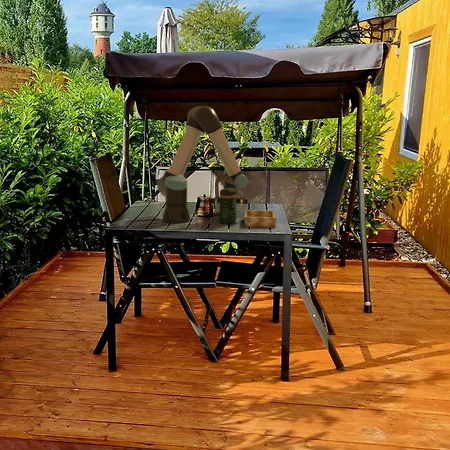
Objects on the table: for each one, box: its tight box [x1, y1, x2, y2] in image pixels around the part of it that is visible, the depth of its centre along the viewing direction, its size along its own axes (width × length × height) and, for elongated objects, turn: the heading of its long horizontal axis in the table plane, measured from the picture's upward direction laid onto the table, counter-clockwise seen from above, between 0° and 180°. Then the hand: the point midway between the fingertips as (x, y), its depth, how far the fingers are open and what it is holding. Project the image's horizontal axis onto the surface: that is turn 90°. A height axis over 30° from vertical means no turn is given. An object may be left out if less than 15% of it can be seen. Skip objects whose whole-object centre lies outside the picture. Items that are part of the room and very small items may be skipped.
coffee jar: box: [218, 188, 238, 225], centre depth 249 cm, size 10×8×19 cm
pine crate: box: [244, 209, 277, 228], centre depth 250 cm, size 16×20×5 cm
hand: (228, 203), depth 247 cm, fingers open, 13 cm apart
